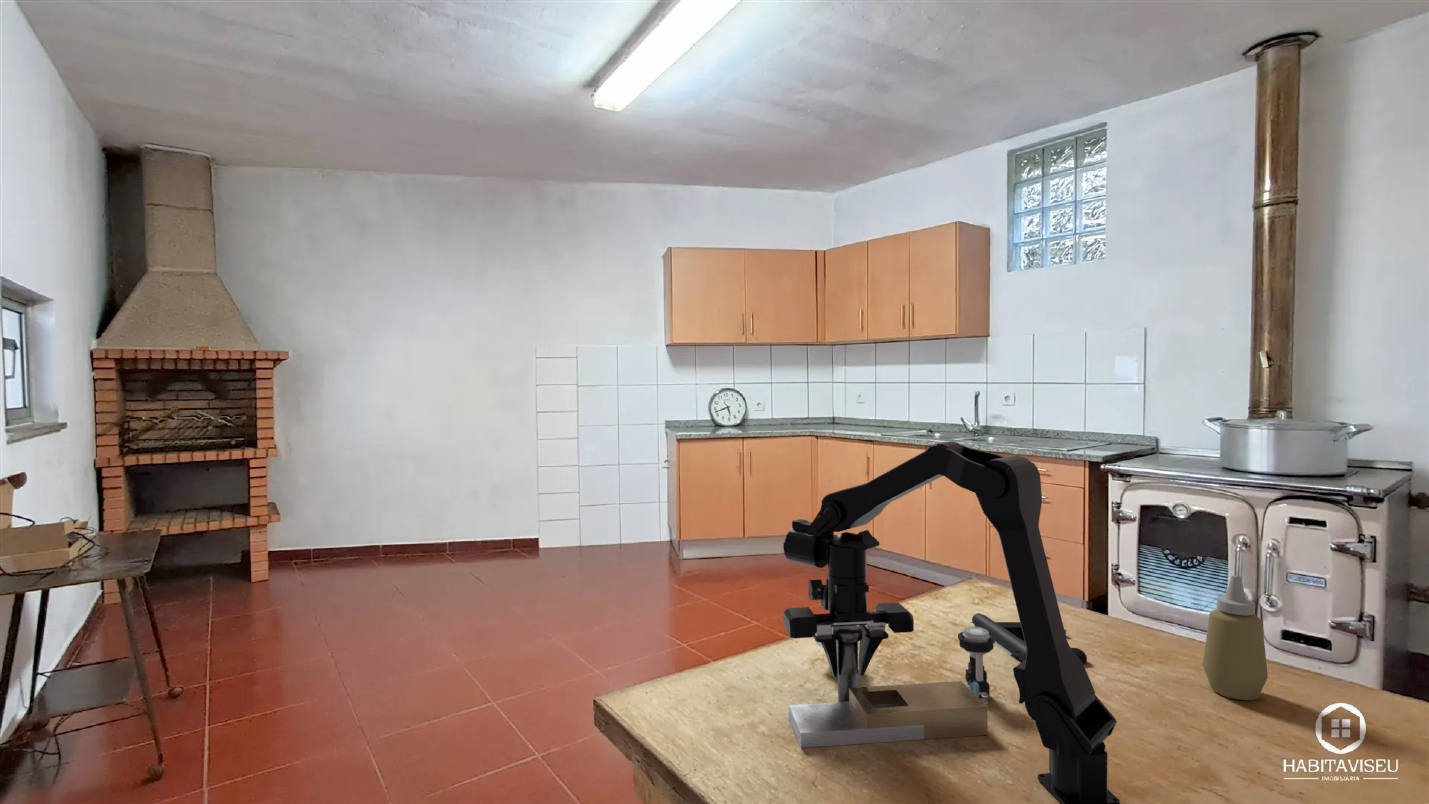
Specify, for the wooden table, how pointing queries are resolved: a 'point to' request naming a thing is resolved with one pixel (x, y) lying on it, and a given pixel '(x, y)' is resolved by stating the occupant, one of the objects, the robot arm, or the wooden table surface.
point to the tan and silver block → (892, 715)
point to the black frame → (1011, 636)
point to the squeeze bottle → (1235, 646)
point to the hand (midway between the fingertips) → (847, 675)
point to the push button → (976, 659)
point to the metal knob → (847, 658)
